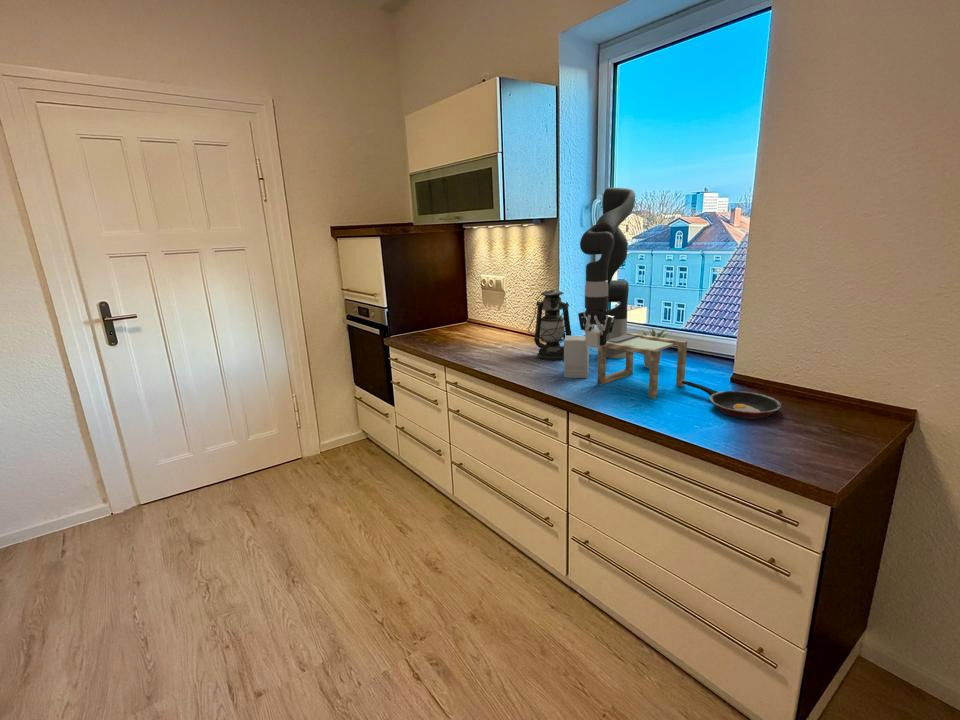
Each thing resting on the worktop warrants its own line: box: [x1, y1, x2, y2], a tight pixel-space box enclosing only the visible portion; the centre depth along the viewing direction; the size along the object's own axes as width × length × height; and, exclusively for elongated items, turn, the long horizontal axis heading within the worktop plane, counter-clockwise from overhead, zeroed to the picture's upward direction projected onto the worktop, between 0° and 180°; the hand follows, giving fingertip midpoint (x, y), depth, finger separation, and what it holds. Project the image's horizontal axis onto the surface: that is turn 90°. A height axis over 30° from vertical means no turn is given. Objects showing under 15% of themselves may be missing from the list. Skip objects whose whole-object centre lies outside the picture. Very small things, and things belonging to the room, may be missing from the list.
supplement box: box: [563, 335, 590, 379], centre depth 186 cm, size 9×9×15 cm
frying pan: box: [682, 380, 782, 420], centre depth 150 cm, size 19×32×4 cm, turn 27°
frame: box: [596, 332, 688, 399], centre depth 170 cm, size 23×19×16 cm
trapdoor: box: [606, 335, 674, 355], centre depth 169 cm, size 19×14×5 cm
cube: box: [584, 328, 607, 349], centre depth 162 cm, size 5×5×5 cm
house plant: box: [636, 327, 671, 369], centre depth 191 cm, size 14×14×16 cm
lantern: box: [527, 289, 572, 362], centre depth 210 cm, size 19×19×30 cm
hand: (595, 343), depth 163 cm, fingers closed on cube, 5 cm apart
